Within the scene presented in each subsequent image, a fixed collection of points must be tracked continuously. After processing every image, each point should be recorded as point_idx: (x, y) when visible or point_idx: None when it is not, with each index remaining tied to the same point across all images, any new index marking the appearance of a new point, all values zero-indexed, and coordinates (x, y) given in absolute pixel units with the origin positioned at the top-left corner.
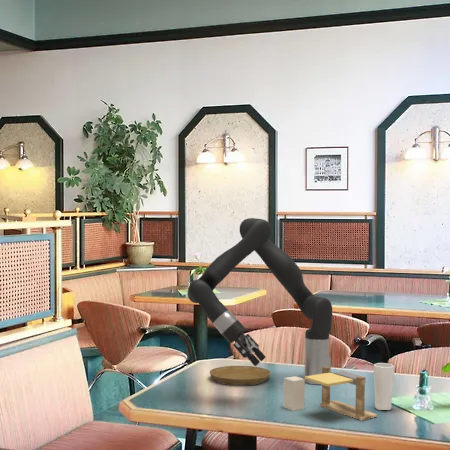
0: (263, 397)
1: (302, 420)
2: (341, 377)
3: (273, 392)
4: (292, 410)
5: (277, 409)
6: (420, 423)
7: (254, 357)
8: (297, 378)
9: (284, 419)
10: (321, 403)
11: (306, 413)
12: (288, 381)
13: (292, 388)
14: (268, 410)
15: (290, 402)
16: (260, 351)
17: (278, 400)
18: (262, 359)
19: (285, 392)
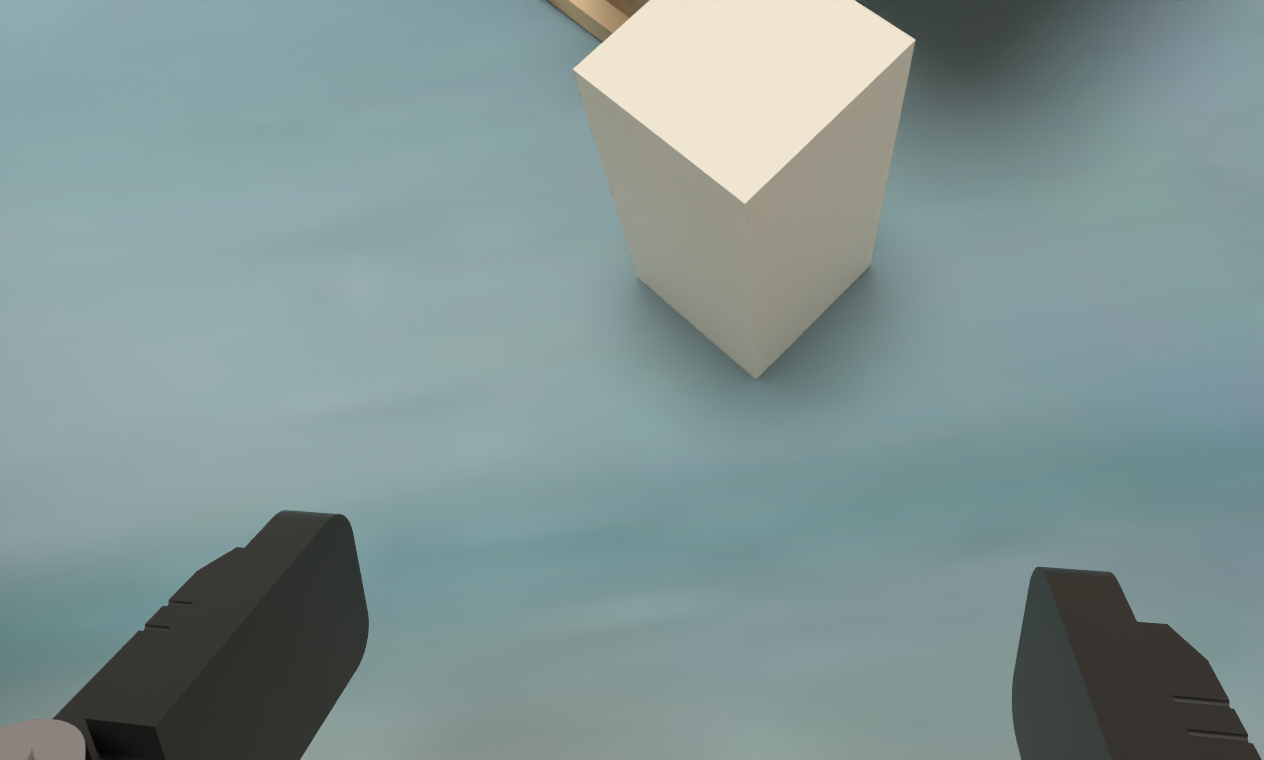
0: (383, 679)
1: (1202, 124)
2: None
3: (149, 586)
4: (865, 268)
5: (872, 431)
6: None
7: (1179, 745)
8: (719, 17)
9: (1253, 296)
10: (625, 21)
11: (925, 127)
12: (826, 141)
13: (890, 126)
14: (952, 528)
15: (848, 255)
16: (199, 648)
17: (488, 476)
18: (358, 600)
19: (779, 278)
